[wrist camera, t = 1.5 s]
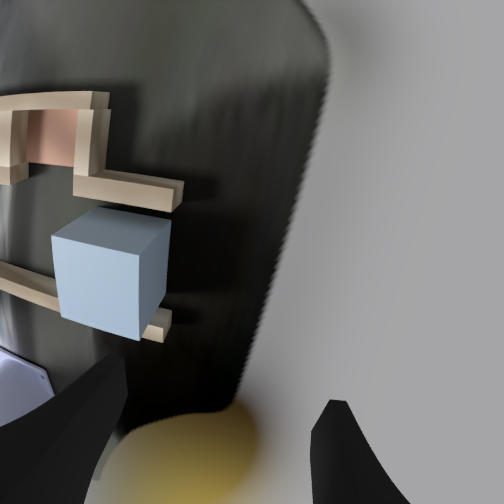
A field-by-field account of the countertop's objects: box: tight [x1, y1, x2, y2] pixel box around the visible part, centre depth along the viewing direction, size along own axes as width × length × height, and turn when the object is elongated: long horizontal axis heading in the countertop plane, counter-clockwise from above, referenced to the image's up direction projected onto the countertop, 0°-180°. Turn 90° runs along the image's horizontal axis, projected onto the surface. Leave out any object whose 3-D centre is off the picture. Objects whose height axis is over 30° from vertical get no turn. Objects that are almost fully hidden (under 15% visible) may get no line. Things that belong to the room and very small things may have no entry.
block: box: [51, 207, 171, 341], centre depth 17 cm, size 5×5×5 cm
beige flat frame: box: [0, 91, 184, 343], centre depth 16 cm, size 14×25×3 cm, turn 79°
